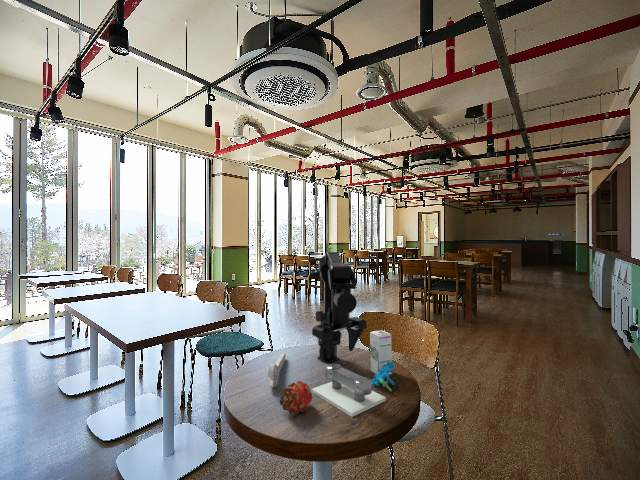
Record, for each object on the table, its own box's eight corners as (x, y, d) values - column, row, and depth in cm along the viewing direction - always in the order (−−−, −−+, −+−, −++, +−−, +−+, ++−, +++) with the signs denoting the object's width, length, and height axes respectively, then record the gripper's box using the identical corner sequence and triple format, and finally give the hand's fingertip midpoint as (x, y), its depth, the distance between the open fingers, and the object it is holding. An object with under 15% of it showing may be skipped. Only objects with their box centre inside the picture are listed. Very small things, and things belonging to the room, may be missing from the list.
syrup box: (392, 374, 113) (392, 333, 113) (378, 377, 111) (378, 335, 111) (382, 368, 119) (382, 329, 119) (369, 371, 116) (369, 331, 116)
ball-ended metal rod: (334, 371, 106) (334, 362, 106) (375, 391, 92) (375, 381, 92) (322, 375, 103) (322, 366, 103) (363, 397, 89) (363, 386, 89)
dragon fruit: (285, 428, 83) (299, 411, 95) (311, 411, 82) (322, 396, 94) (269, 398, 86) (285, 385, 97) (294, 381, 85) (307, 370, 96)
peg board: (344, 379, 109) (344, 368, 109) (385, 400, 95) (385, 387, 95) (311, 392, 100) (311, 379, 100) (351, 416, 86) (351, 402, 86)
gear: (372, 371, 112) (392, 354, 109) (384, 384, 111) (405, 367, 108) (367, 390, 101) (390, 372, 98) (381, 404, 101) (404, 386, 98)
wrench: (285, 367, 128) (272, 394, 98) (281, 366, 128) (267, 394, 98) (285, 346, 129) (273, 367, 99) (281, 346, 129) (267, 366, 99)
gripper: (344, 297, 113) (344, 341, 113) (301, 304, 101) (301, 353, 102) (367, 302, 104) (367, 350, 105) (324, 311, 93) (323, 364, 93)
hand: (340, 354), depth 101 cm, fingers open, 9 cm apart
